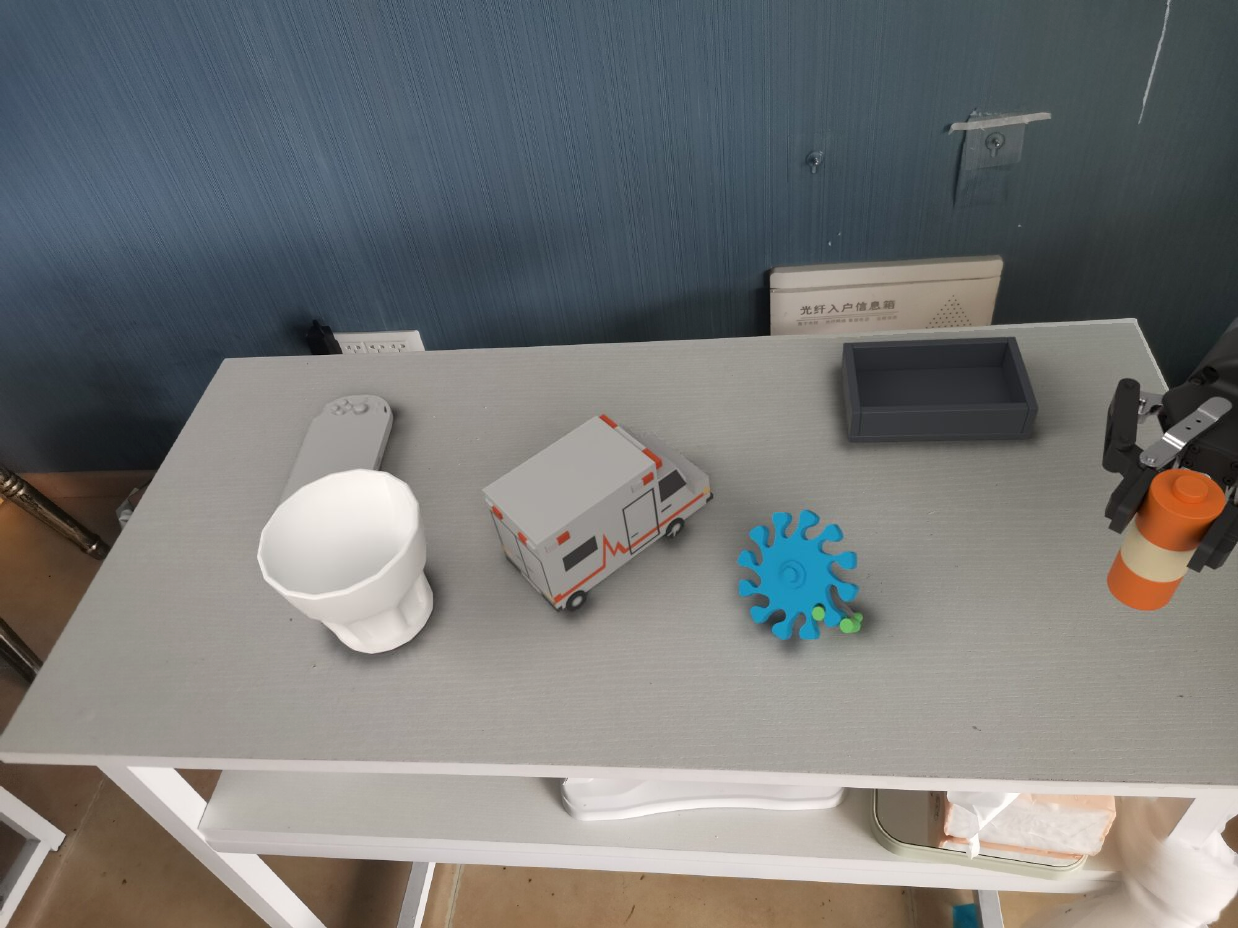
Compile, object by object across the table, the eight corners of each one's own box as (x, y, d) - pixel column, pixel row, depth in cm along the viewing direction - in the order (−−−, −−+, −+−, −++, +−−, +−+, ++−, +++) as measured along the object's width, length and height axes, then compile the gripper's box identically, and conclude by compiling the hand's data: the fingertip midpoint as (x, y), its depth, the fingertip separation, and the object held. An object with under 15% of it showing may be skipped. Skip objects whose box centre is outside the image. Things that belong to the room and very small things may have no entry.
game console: (351, 528, 78) (263, 531, 79) (360, 545, 80) (274, 548, 81) (395, 389, 90) (319, 393, 91) (403, 406, 92) (327, 410, 93)
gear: (710, 572, 71) (789, 481, 67) (748, 571, 76) (824, 486, 72) (798, 681, 65) (889, 588, 62) (833, 674, 70) (920, 587, 66)
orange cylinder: (1179, 580, 55) (1239, 478, 48) (1159, 621, 53) (1218, 521, 46) (1119, 554, 57) (1167, 451, 50) (1097, 592, 55) (1144, 492, 48)
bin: (1007, 367, 85) (1015, 336, 82) (1029, 439, 79) (1039, 408, 76) (840, 372, 87) (843, 342, 85) (849, 442, 81) (852, 413, 78)
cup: (281, 645, 74) (221, 567, 66) (371, 534, 81) (327, 451, 73) (400, 698, 69) (351, 621, 61) (484, 575, 76) (451, 491, 68)
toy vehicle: (722, 511, 77) (717, 431, 70) (565, 628, 71) (542, 554, 64) (651, 455, 83) (640, 376, 76) (500, 559, 77) (472, 484, 70)
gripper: (1178, 282, 56) (1046, 437, 49) (1448, 370, 49) (1339, 568, 42) (1142, 370, 62) (1019, 521, 55) (1379, 461, 54) (1272, 651, 47)
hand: (1158, 540), depth 48 cm, fingers closed on orange cylinder, 3 cm apart
